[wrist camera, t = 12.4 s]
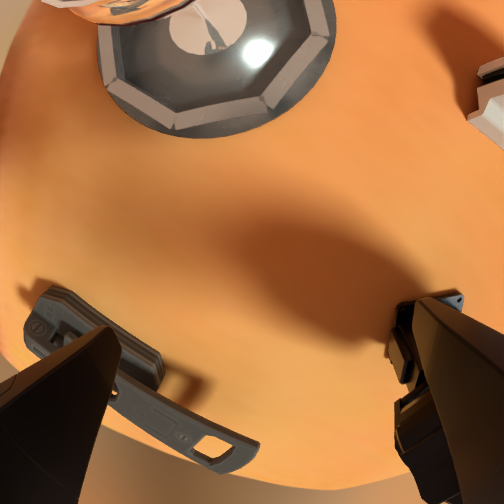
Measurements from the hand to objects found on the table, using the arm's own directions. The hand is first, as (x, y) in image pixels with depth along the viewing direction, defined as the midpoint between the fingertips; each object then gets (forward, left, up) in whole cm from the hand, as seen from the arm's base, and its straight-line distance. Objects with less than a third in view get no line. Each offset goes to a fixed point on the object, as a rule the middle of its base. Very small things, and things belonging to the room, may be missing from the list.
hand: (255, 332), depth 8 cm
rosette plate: (+2, -13, -13) cm, 18 cm away
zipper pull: (+15, +14, -13) cm, 24 cm away
